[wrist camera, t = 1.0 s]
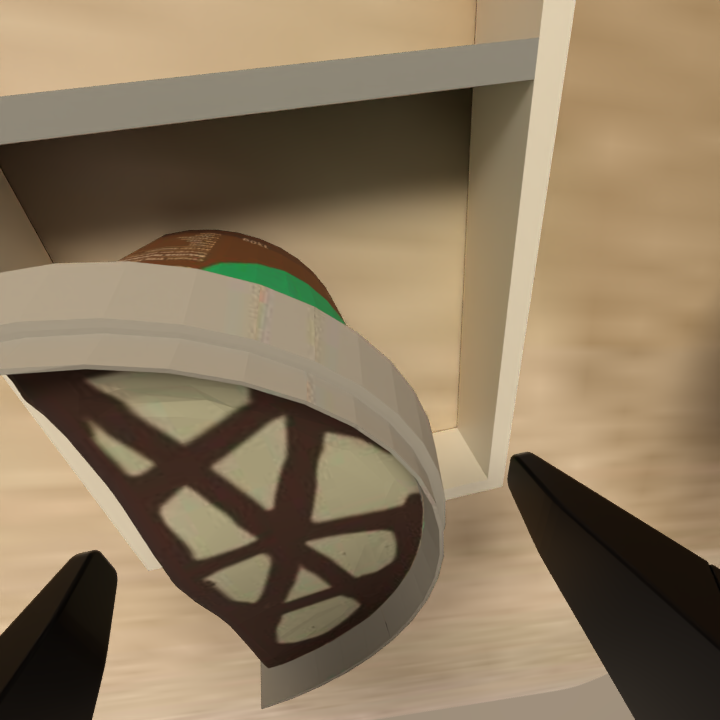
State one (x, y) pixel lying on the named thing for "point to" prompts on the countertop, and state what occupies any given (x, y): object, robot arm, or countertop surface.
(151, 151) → the countertop surface
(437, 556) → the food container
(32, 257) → the divided tray
